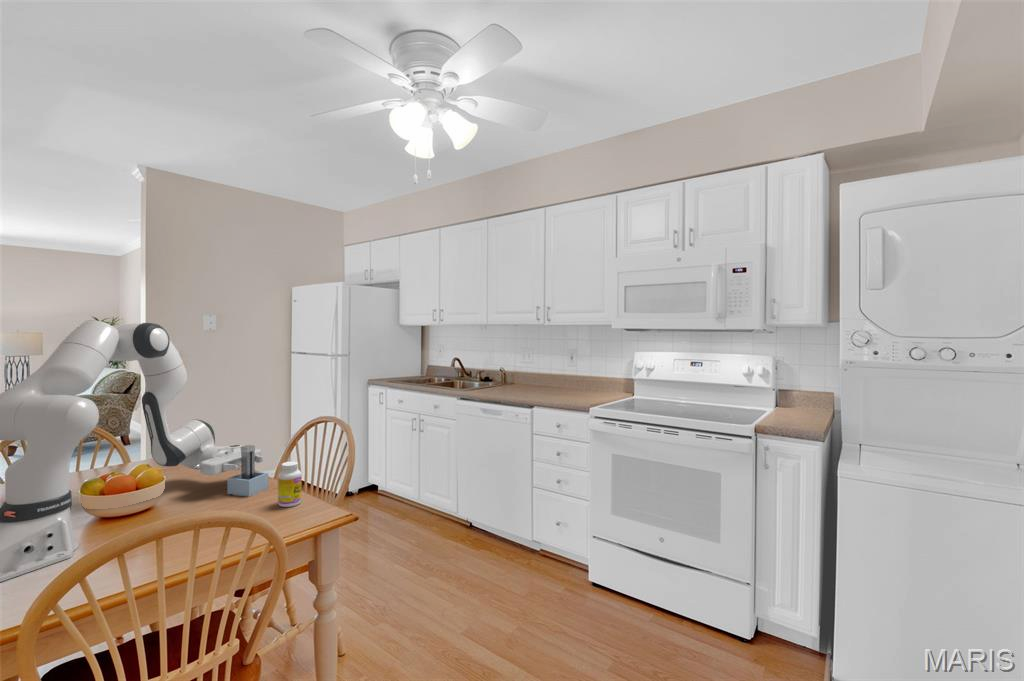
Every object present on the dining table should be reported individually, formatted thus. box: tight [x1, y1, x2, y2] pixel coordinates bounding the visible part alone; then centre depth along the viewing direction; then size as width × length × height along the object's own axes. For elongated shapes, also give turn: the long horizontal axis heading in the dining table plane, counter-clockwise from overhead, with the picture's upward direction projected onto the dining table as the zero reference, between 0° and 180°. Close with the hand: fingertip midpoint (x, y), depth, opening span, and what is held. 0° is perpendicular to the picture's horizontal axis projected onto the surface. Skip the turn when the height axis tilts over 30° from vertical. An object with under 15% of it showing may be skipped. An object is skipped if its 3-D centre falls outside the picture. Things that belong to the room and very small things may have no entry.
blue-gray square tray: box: [226, 471, 269, 498], centre depth 163 cm, size 9×9×5 cm
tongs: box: [240, 444, 256, 480], centre depth 162 cm, size 3×3×14 cm
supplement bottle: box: [277, 461, 302, 508], centre depth 152 cm, size 7×7×13 cm
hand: (250, 463), depth 162 cm, fingers open, 8 cm apart
